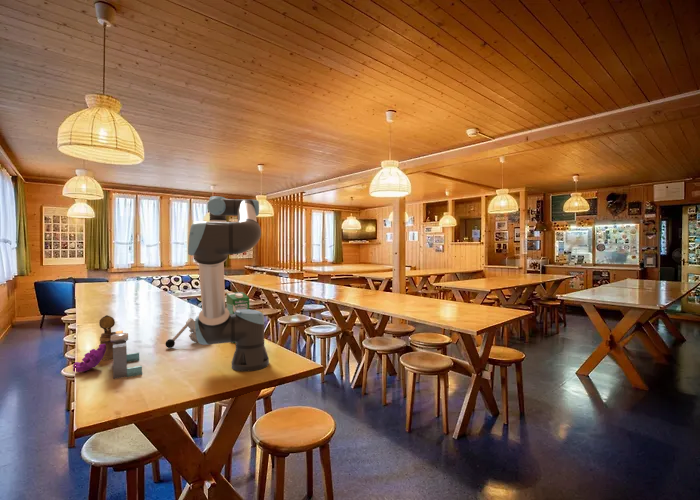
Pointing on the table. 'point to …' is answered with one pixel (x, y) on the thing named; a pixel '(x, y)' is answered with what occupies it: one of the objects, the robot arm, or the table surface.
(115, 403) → the table surface
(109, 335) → the brown disc topped figure
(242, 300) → the milk carton
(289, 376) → the table surface
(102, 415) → the table surface
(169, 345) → the valve
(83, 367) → the purple toothed curved piece
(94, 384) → the table surface
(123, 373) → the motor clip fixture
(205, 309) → the robot arm
